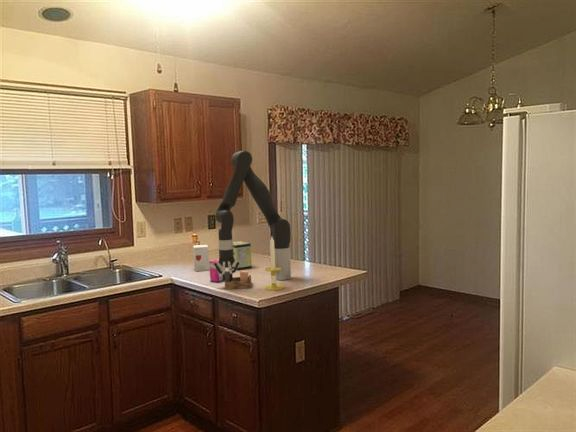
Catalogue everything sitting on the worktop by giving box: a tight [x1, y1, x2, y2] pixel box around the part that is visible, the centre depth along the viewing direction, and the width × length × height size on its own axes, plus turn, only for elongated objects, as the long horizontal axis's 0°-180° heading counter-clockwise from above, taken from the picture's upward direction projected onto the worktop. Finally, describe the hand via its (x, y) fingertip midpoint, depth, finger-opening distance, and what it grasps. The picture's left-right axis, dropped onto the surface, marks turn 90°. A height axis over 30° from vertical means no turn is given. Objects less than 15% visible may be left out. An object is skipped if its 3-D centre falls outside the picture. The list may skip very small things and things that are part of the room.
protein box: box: [232, 241, 253, 271], centre depth 311 cm, size 10×16×16 cm
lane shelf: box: [224, 274, 252, 290], centre depth 261 cm, size 13×12×4 cm
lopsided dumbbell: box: [224, 269, 249, 283], centre depth 261 cm, size 12×5×6 cm, turn 93°
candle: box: [264, 236, 285, 291], centre depth 253 cm, size 10×10×27 cm
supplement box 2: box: [209, 259, 225, 283], centre depth 275 cm, size 6×6×12 cm
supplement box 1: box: [193, 244, 210, 272], centre depth 309 cm, size 9×9×15 cm
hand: (227, 280), depth 261 cm, fingers closed on lopsided dumbbell, 2 cm apart
